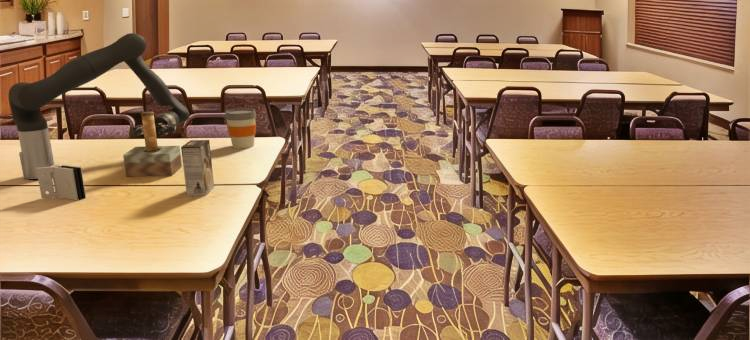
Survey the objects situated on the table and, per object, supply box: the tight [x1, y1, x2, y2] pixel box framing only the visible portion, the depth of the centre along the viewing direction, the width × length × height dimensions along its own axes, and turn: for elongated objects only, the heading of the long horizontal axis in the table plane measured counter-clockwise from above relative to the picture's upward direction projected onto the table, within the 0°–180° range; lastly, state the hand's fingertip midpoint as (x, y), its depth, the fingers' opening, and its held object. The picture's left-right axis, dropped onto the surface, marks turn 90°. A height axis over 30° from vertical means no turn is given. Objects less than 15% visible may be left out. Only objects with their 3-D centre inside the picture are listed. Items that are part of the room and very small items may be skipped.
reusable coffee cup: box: [225, 108, 257, 149], centre depth 244 cm, size 13×12×15 cm
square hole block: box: [122, 145, 183, 178], centre depth 209 cm, size 16×12×8 cm
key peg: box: [140, 111, 159, 152], centre depth 206 cm, size 4×4×17 cm
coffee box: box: [180, 139, 215, 197], centre depth 184 cm, size 9×6×16 cm
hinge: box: [36, 164, 87, 201], centre depth 182 cm, size 14×5×10 cm, turn 81°
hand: (148, 133), depth 204 cm, fingers open, 8 cm apart
